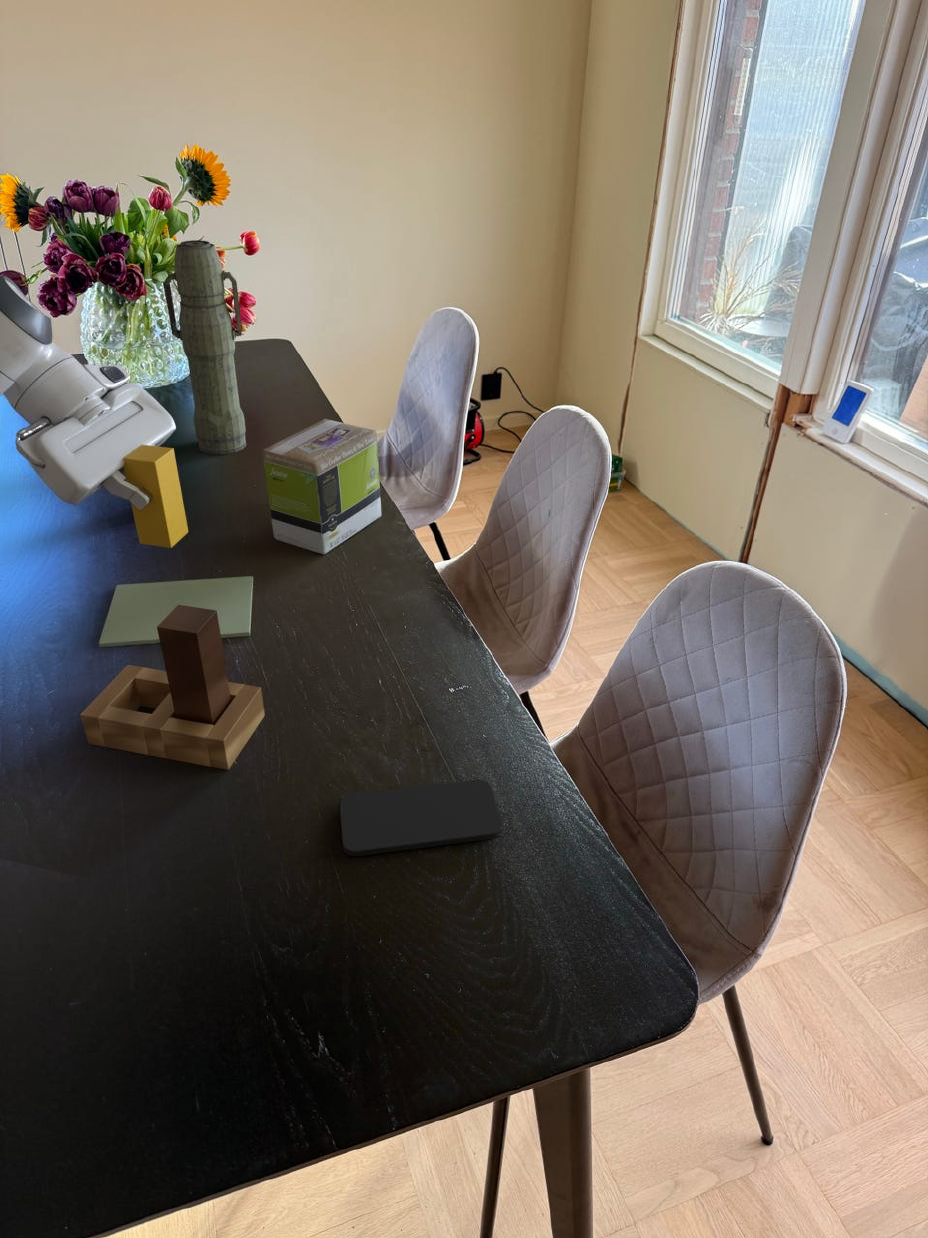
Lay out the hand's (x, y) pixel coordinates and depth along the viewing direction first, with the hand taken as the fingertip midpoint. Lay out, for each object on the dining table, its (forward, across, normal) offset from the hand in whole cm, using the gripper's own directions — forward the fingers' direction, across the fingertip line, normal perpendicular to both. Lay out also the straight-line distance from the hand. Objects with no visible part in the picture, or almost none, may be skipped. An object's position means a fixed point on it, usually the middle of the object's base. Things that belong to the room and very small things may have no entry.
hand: (160, 493), depth 100 cm
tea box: (+19, +29, +7) cm, 35 cm away
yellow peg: (+4, 0, +5) cm, 6 cm away
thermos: (-3, +55, +28) cm, 62 cm away
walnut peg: (+22, -20, +3) cm, 30 cm away
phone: (+40, -26, -15) cm, 50 cm away
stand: (+20, -20, +5) cm, 28 cm away
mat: (+12, +2, +14) cm, 18 cm away
